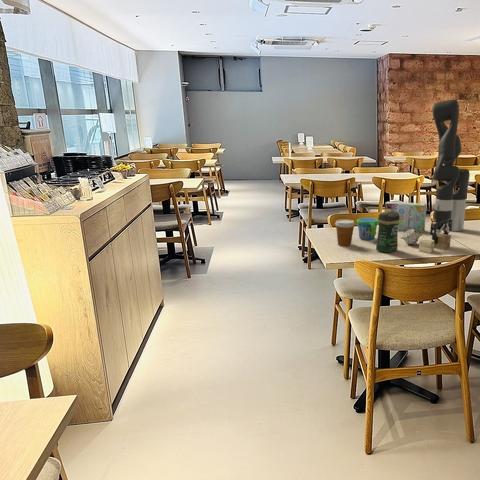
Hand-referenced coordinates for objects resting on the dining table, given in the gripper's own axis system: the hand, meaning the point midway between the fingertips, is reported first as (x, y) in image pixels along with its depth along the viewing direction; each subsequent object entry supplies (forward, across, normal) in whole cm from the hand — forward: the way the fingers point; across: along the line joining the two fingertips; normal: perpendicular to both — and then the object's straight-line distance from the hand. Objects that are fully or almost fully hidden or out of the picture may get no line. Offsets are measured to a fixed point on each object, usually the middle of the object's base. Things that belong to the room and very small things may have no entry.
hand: (440, 242), depth 206 cm
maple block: (+3, +10, -1) cm, 10 cm away
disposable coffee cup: (+3, +30, -33) cm, 44 cm away
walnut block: (+3, 0, 0) cm, 3 cm away
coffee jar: (+3, +23, -13) cm, 26 cm away
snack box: (+3, -17, -32) cm, 36 cm away
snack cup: (+3, +13, -33) cm, 35 cm away
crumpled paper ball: (+3, +6, -12) cm, 13 cm away
